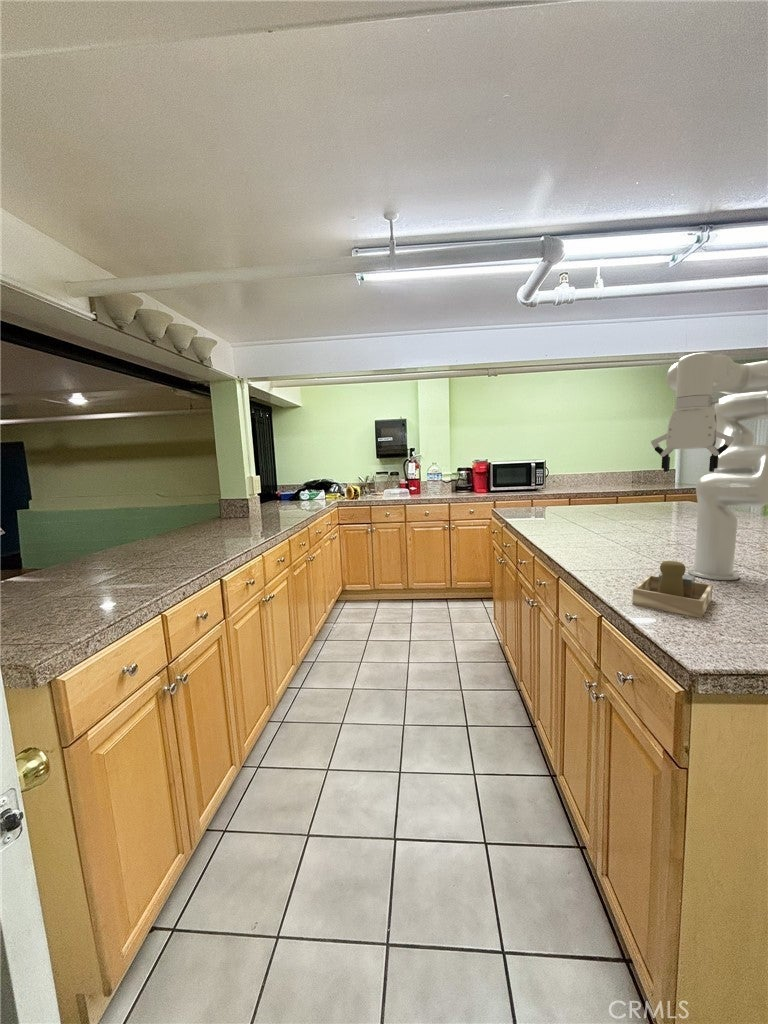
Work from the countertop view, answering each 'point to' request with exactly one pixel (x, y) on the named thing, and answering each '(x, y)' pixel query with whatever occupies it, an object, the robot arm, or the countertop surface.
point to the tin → (685, 585)
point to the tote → (672, 598)
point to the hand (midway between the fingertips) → (688, 471)
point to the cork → (672, 578)
